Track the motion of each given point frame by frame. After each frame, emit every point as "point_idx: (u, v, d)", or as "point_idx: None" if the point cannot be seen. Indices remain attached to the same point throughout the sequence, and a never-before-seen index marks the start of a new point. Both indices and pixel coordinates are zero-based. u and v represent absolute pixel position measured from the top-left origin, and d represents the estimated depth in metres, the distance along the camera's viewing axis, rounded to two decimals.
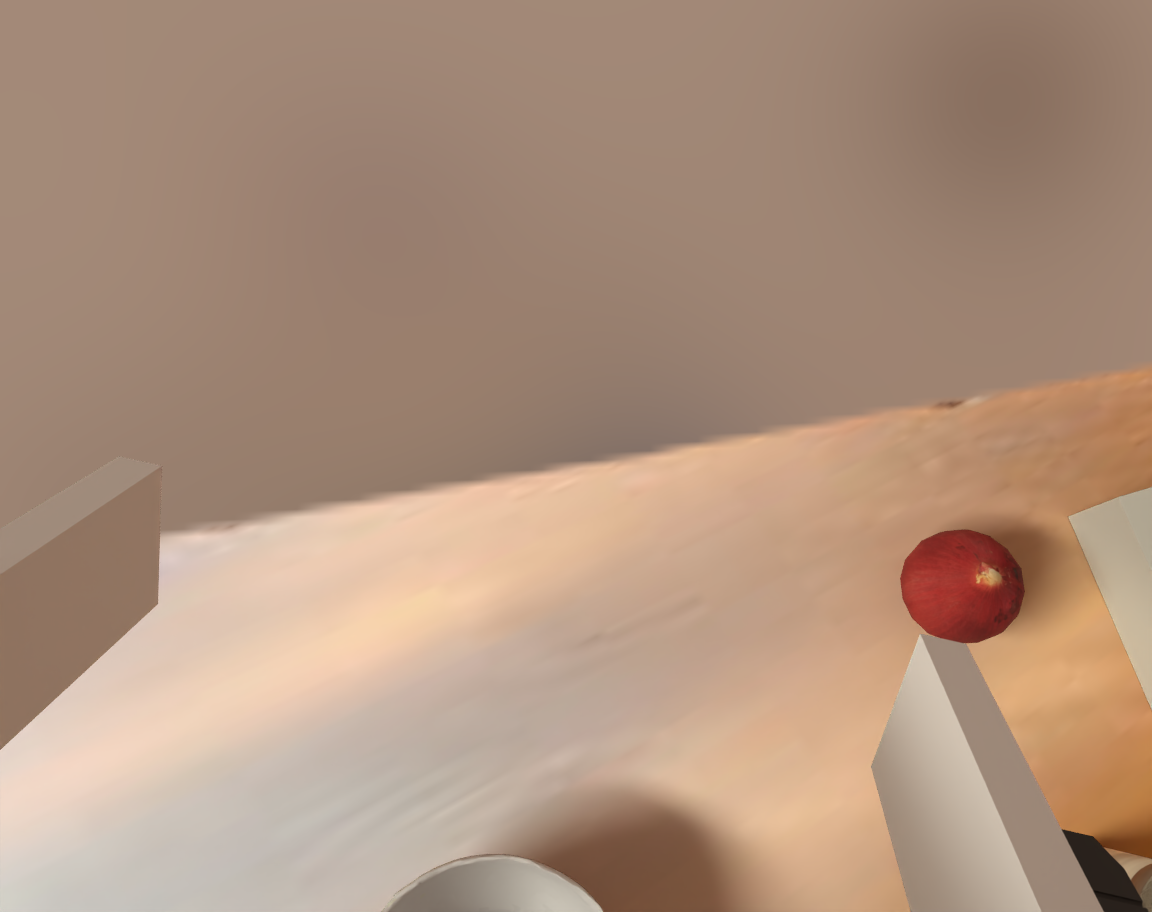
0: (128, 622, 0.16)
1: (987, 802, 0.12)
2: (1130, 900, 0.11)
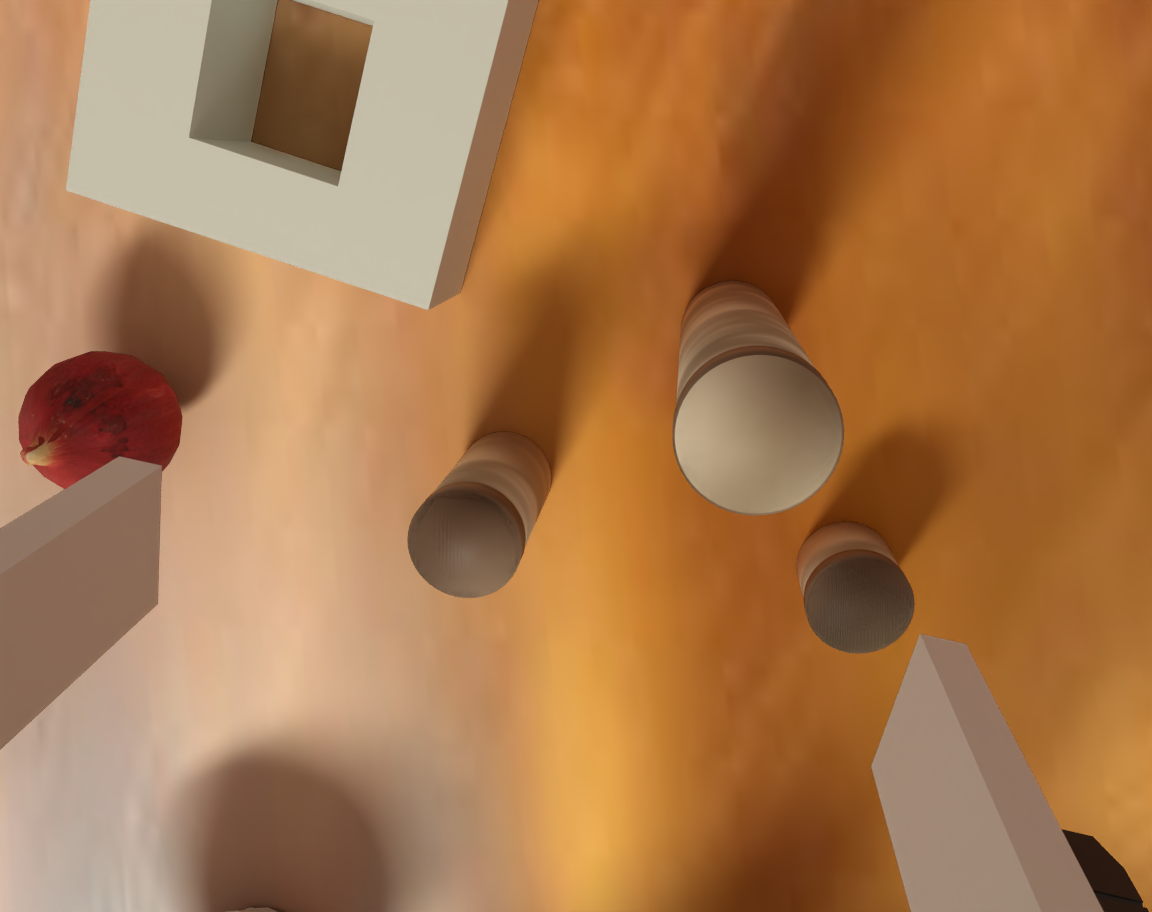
0: (128, 622, 0.16)
1: (987, 802, 0.12)
2: (1130, 900, 0.11)
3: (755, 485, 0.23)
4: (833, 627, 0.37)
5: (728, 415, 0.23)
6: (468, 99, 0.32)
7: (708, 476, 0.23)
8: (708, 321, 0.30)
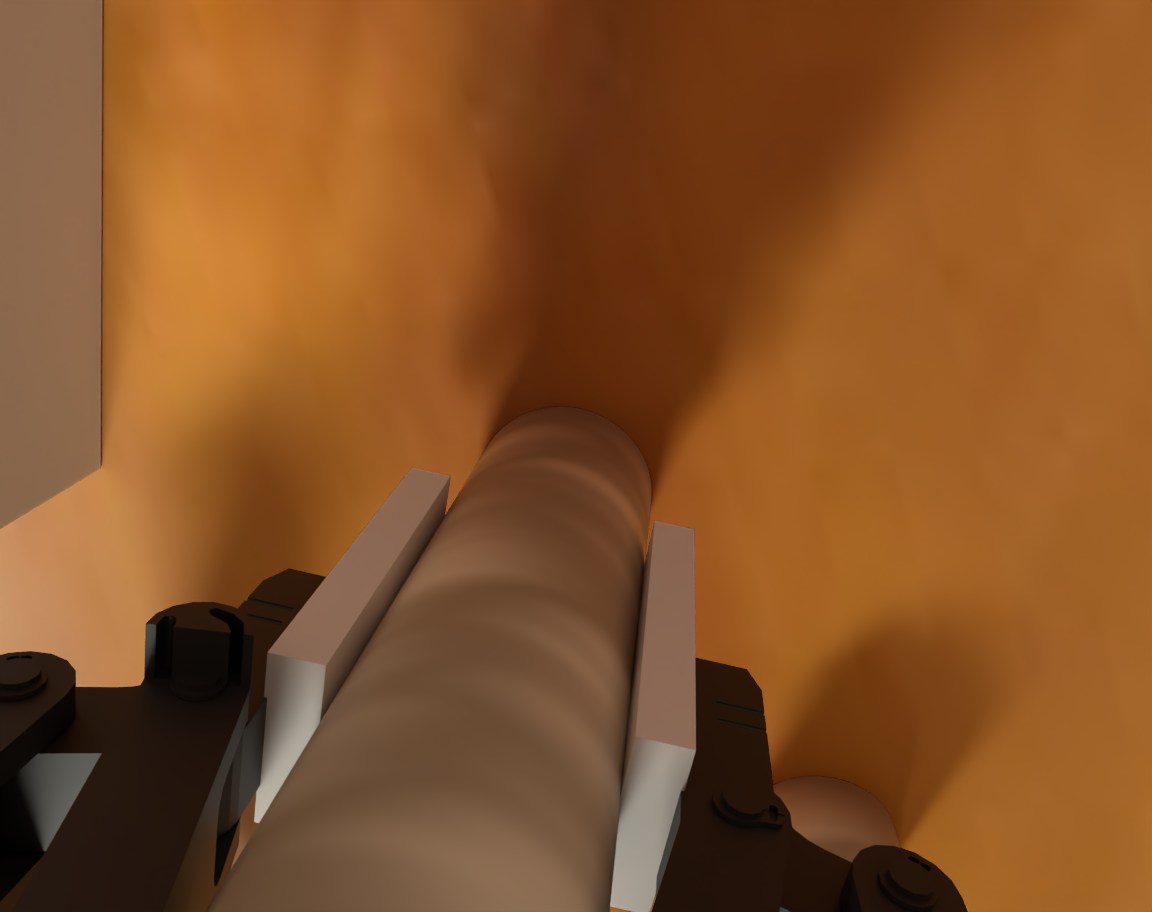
0: None
1: (643, 633, 0.14)
2: (753, 710, 0.14)
3: None
4: None
5: None
6: None
7: None
8: (392, 618, 0.13)
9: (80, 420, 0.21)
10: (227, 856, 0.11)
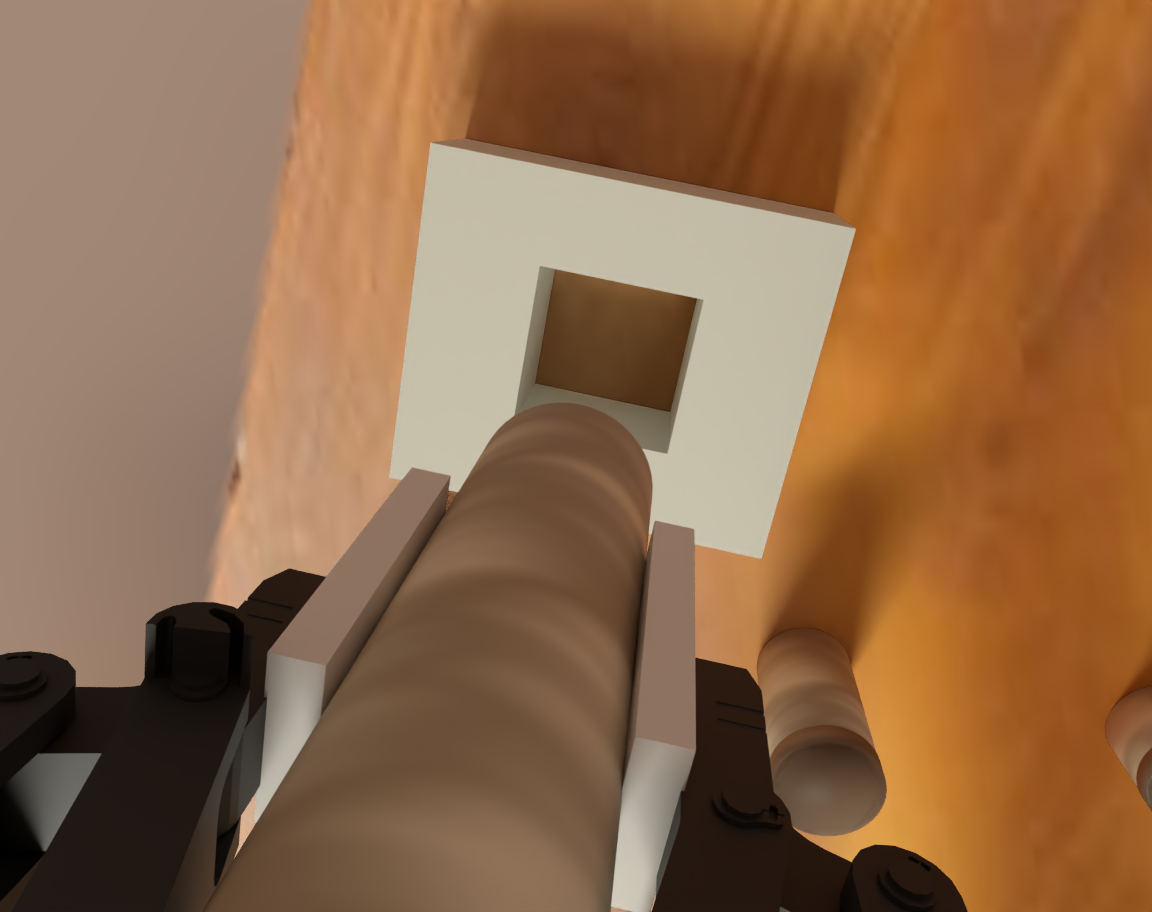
0: None
1: (643, 633, 0.14)
2: (753, 710, 0.14)
3: None
4: None
5: None
6: (802, 364, 0.32)
7: None
8: (394, 611, 0.13)
9: None
10: (227, 856, 0.11)
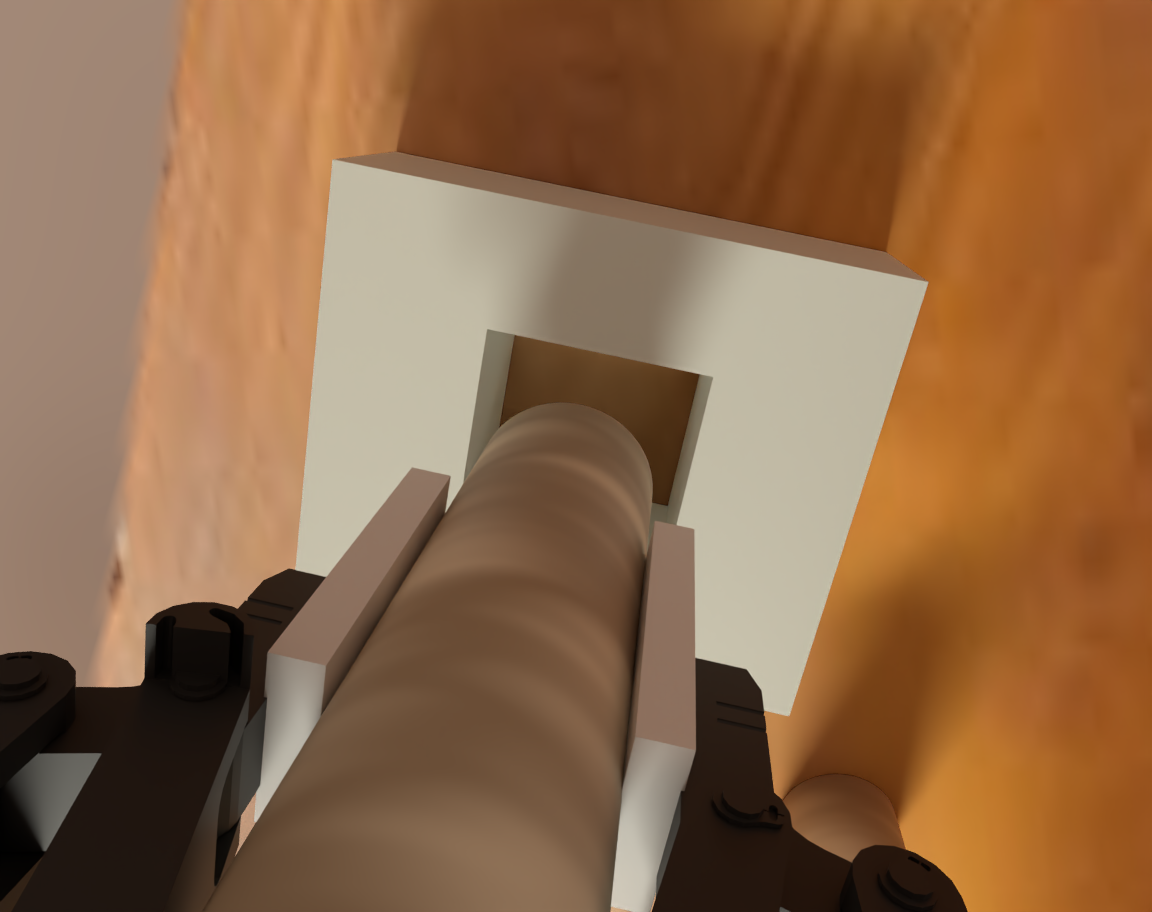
0: None
1: (644, 633, 0.14)
2: (753, 710, 0.14)
3: None
4: None
5: None
6: (849, 465, 0.23)
7: None
8: (394, 611, 0.13)
9: None
10: (227, 856, 0.11)
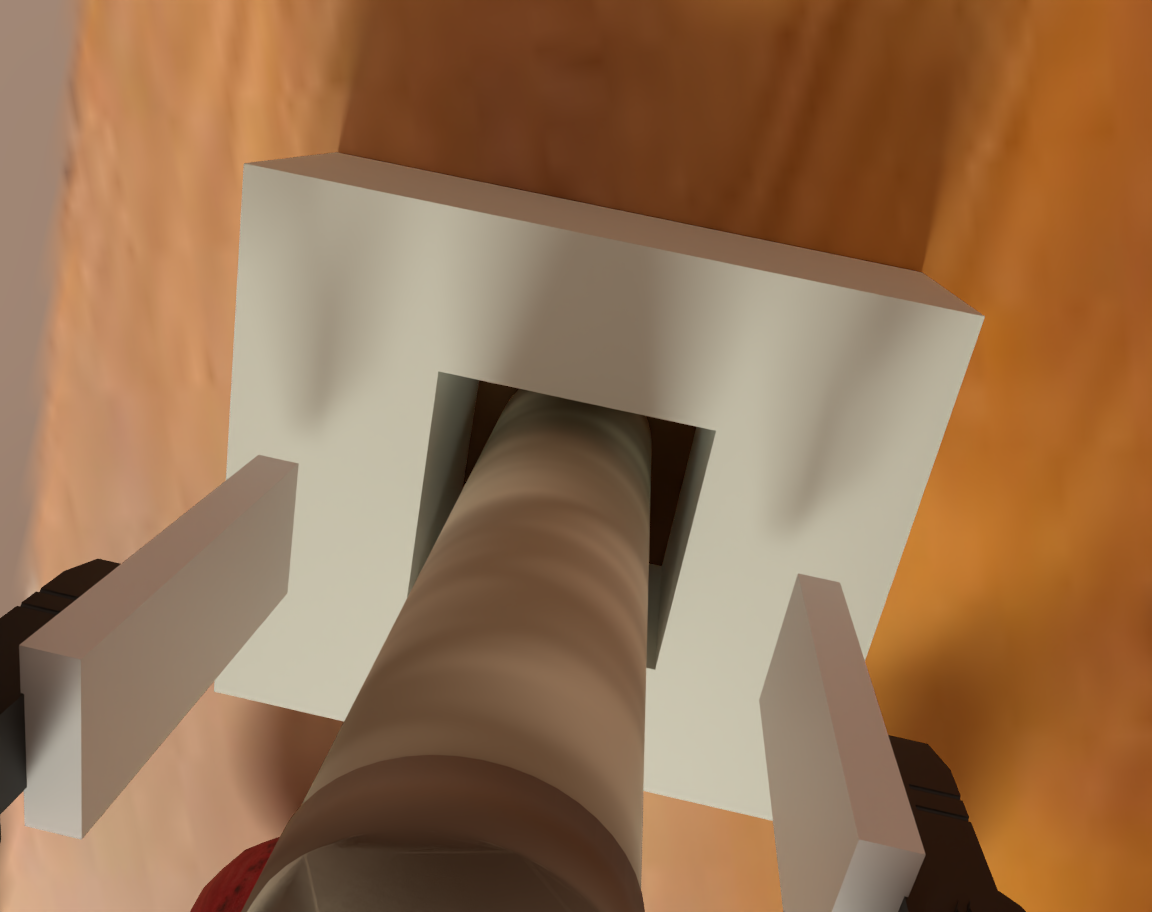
0: (266, 610, 0.17)
1: (825, 709, 0.13)
2: (949, 794, 0.13)
3: None
4: None
5: None
6: (882, 538, 0.19)
7: None
8: (452, 530, 0.16)
9: None
10: None
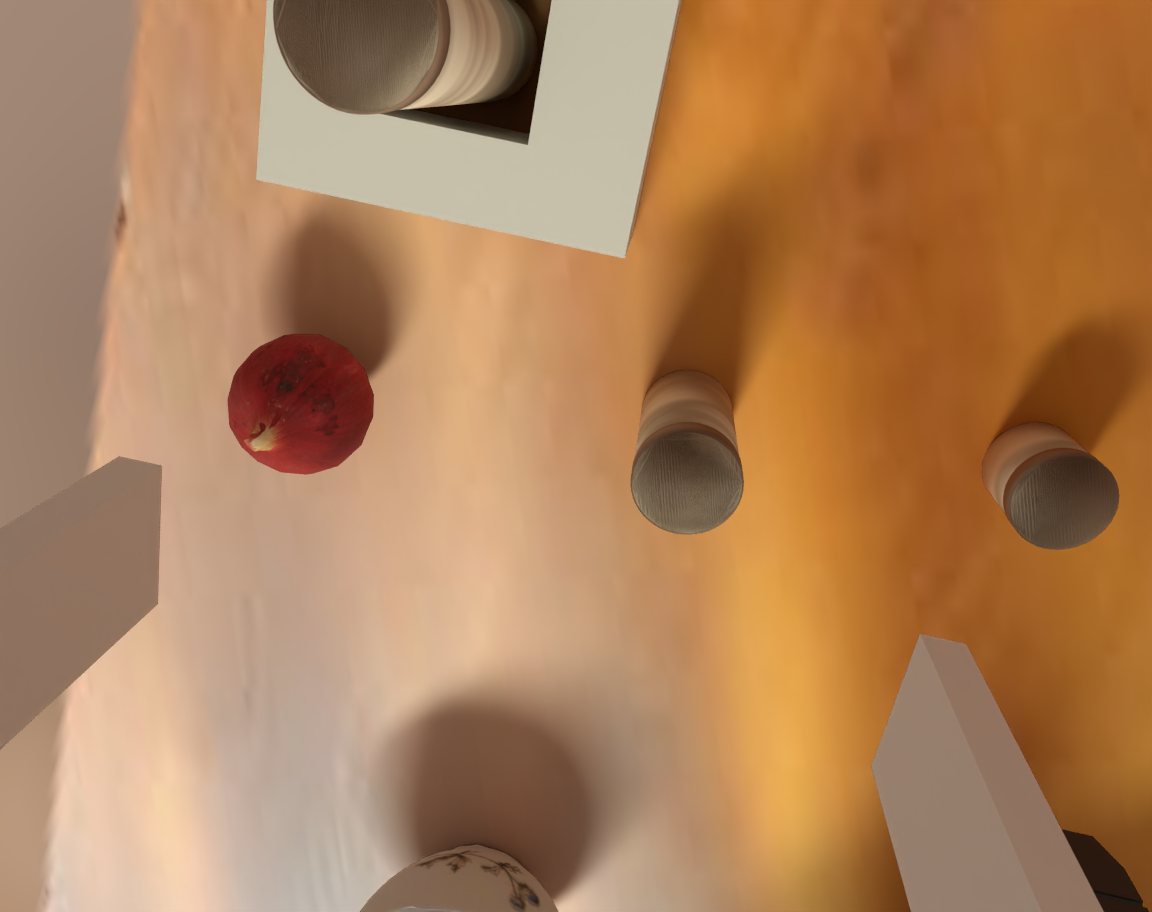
0: (128, 623, 0.16)
1: (987, 802, 0.12)
2: (1130, 900, 0.11)
3: (367, 79, 0.23)
4: (1037, 526, 0.38)
5: (323, 4, 0.22)
6: (656, 41, 0.32)
7: (320, 77, 0.23)
8: None
9: (638, 204, 0.38)
10: None
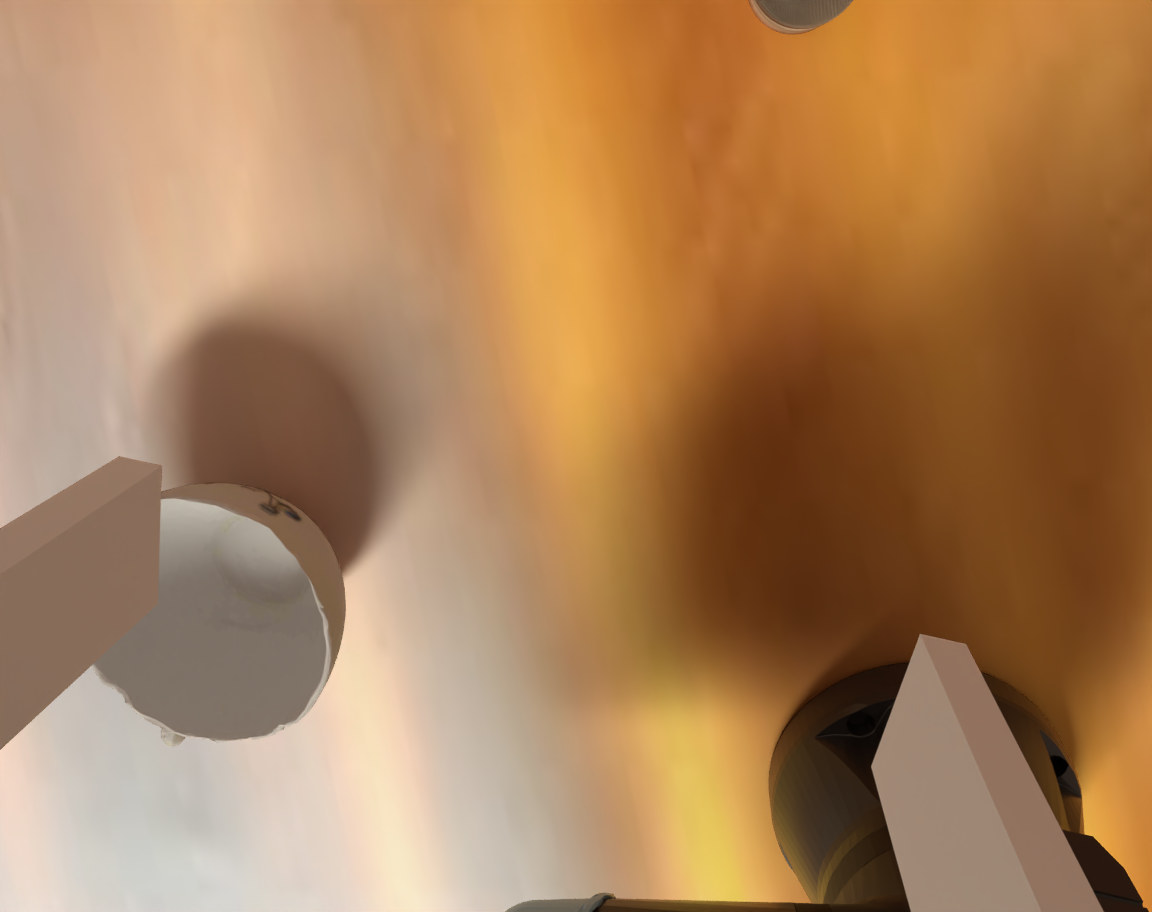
0: (127, 622, 0.16)
1: (987, 802, 0.12)
2: (1130, 900, 0.11)
3: None
4: None
5: None
6: None
7: None
8: None
9: None
10: None
